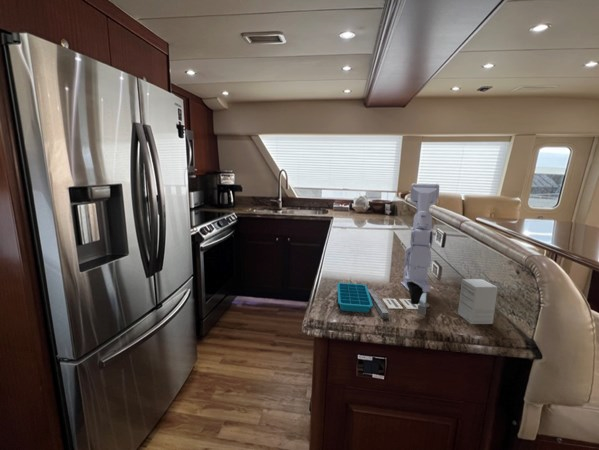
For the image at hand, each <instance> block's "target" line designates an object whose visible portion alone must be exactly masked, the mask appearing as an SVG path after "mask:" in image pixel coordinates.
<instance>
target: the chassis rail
mask: <svg viewBox="0 0 599 450" xmlns="http://www.w3.org/2000/svg"><path fill="white" fill-rule="evenodd" d="M367 289H368V292H369V295H370V298H371V301H372V304H373V307H375V309H376V310H377V312H378V314H379V315H380V317H381V319H389V316H390V315H389V314H390V312H389V311H388V310H387V308H386V306H385V305H384V304H383V302H382V301H381V299H380V298H379V297H378V295H377V293H375V291H374V289H373V288H367Z"/></svg>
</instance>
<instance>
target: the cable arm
mask: <svg viewBox="0 0 599 450" xmlns="http://www.w3.org/2000/svg"><path fill="white" fill-rule="evenodd" d="M427 299H428V292H423V294H422V296H421V298H420V301H419V306H418V309H417V312H416V313H417V314H418V315H421V316H426V313H427V308H426V307H425V304H426V303H427Z"/></svg>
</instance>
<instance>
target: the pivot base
mask: <svg viewBox="0 0 599 450" xmlns="http://www.w3.org/2000/svg"><path fill="white" fill-rule="evenodd" d="M417 305H418V306H419V303H418V304H417ZM425 307H426V309H427V308H430V303H428V302H426V304H425Z"/></svg>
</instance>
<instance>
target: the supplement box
mask: <svg viewBox="0 0 599 450" xmlns="http://www.w3.org/2000/svg"><path fill="white" fill-rule="evenodd" d="M460 286H461V287H460V292H459V293H460V294H459V304H458V310H457V314H458V315H459V316H460V317H462V318H463V319H464V320H465V321H466V322H468V323H469V324H471V325H493V324H494V318H495V317H494V316H495V310H496V303H497V298H498V297H497V296H498V289H499V287H498V286H496V285H494V284H492V283H490V282H488V281H487V280H485V279H482V278H479V279H478V278H466V279H465V278H462V279H461V285H460Z"/></svg>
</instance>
